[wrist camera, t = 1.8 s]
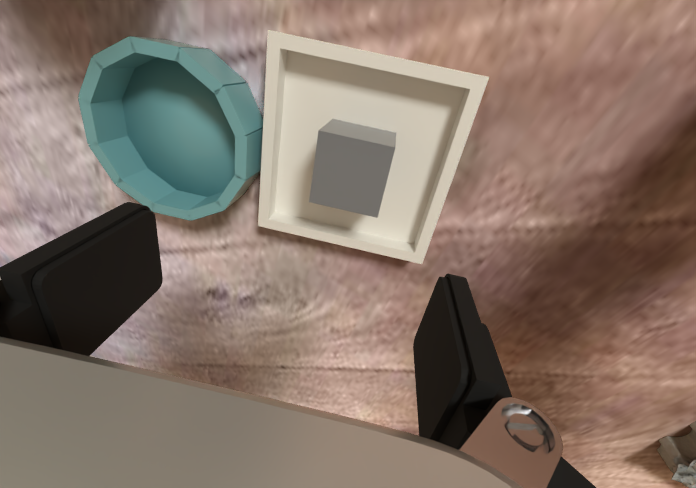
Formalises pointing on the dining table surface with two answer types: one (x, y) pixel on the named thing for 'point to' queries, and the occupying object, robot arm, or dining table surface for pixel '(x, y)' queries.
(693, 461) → the egg carton
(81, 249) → the robot arm
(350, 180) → the slate block
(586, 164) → the dining table surface
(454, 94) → the parts tray
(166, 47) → the bowl
